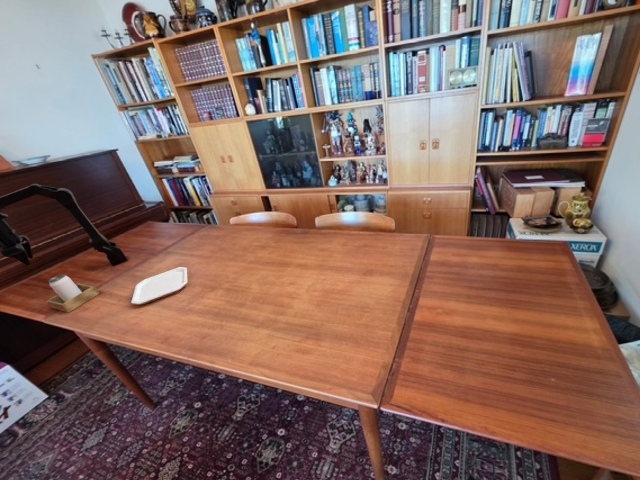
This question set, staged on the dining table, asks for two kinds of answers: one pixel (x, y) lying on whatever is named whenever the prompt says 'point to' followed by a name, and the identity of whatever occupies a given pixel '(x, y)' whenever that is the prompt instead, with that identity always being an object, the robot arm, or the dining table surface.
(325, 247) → the dining table surface
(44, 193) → the robot arm
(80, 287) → the wooden frame
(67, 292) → the can
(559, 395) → the dining table surface
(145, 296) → the plate
